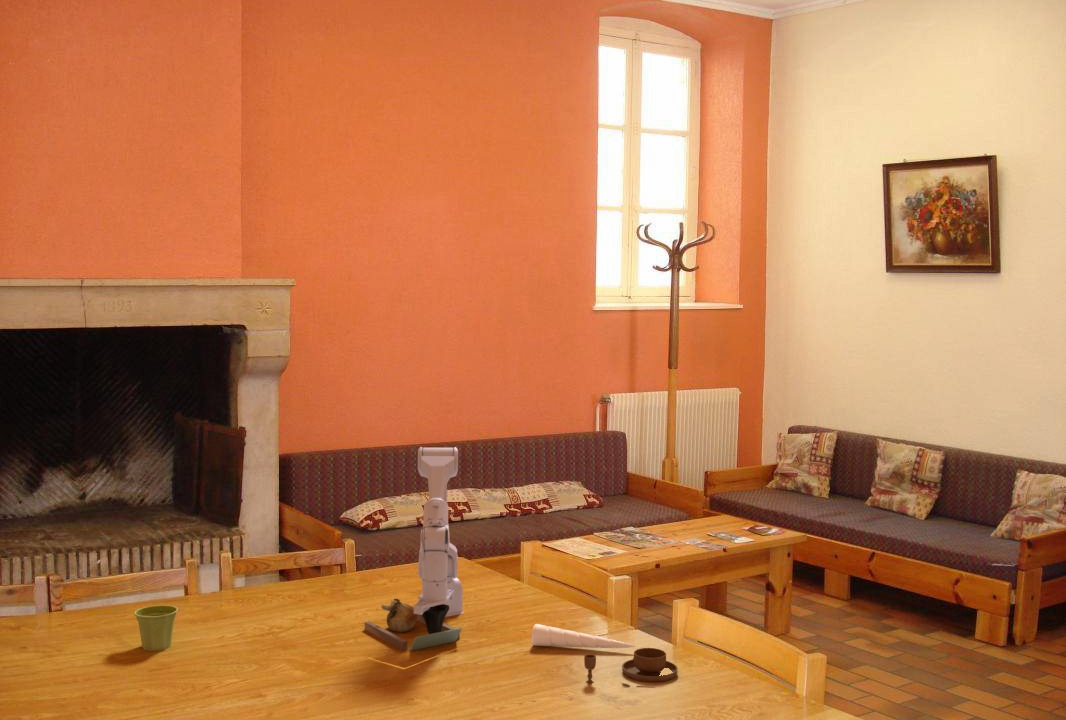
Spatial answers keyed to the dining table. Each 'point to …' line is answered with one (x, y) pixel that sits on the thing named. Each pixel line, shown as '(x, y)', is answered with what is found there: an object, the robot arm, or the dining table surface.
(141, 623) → the plant pot
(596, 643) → the unicorn horn
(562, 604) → the dining table surface
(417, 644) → the panel
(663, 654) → the place setting
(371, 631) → the cart frame
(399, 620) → the onion
